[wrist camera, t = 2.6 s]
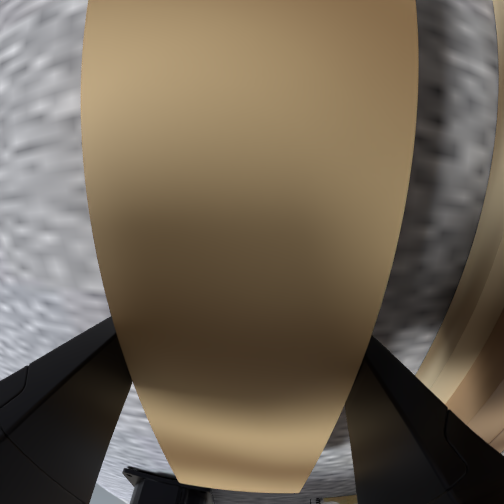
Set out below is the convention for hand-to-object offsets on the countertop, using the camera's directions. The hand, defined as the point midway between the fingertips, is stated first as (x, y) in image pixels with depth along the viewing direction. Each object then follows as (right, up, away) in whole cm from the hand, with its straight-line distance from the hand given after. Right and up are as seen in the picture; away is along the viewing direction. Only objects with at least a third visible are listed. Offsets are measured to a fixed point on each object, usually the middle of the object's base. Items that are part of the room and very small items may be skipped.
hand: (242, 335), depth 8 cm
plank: (0, +1, +1) cm, 1 cm away
